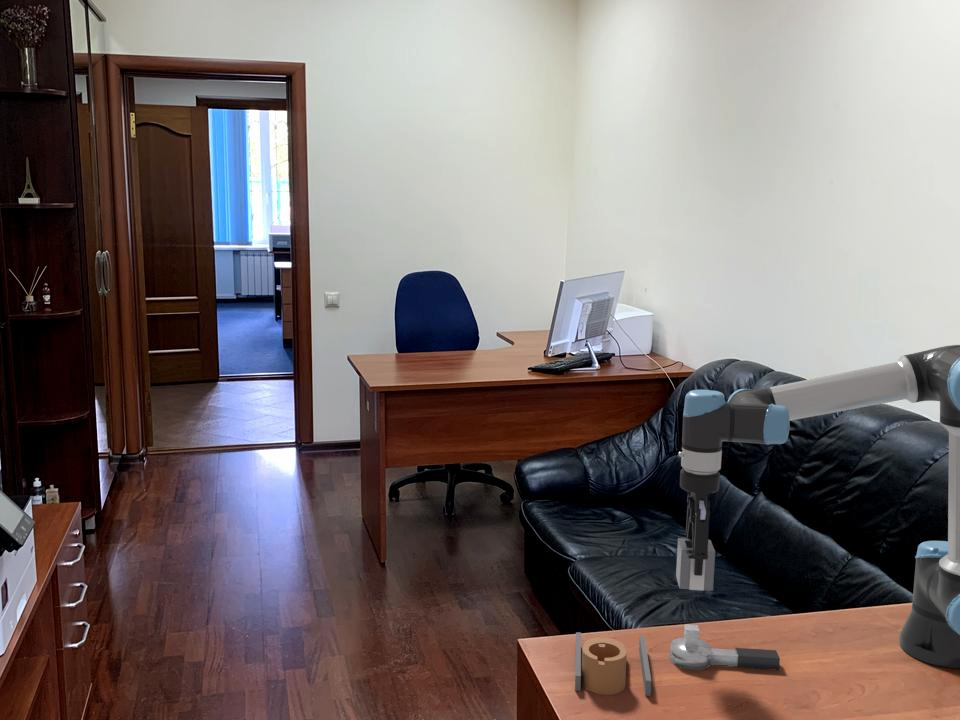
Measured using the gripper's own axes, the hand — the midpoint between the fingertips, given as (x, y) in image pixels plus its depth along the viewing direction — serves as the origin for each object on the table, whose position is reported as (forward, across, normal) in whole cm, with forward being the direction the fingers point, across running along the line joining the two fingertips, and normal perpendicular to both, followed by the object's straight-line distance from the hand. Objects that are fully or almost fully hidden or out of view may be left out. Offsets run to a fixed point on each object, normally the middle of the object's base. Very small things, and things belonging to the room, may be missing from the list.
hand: (694, 581), depth 174 cm
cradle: (+17, +6, -16) cm, 24 cm away
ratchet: (+17, 0, +7) cm, 18 cm away
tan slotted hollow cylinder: (+17, +6, -17) cm, 25 cm away
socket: (0, 0, 0) cm, 0 cm away
